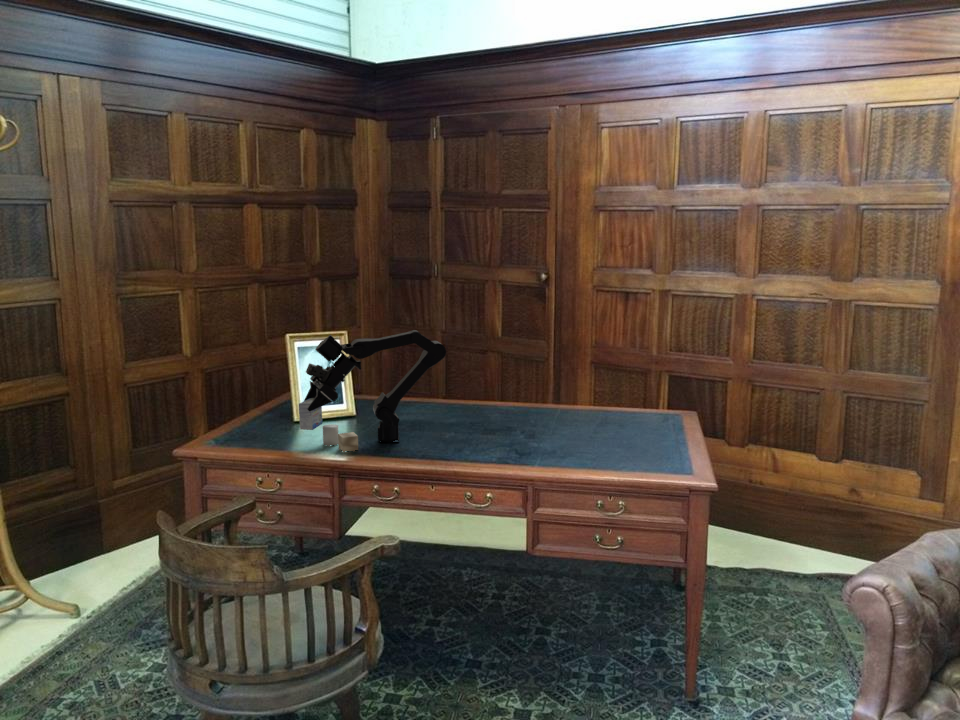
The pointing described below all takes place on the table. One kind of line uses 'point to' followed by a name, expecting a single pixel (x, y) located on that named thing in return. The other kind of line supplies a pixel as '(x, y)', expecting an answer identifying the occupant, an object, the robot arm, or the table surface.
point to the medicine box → (309, 415)
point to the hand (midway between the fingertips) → (306, 407)
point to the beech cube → (348, 441)
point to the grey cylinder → (330, 434)
